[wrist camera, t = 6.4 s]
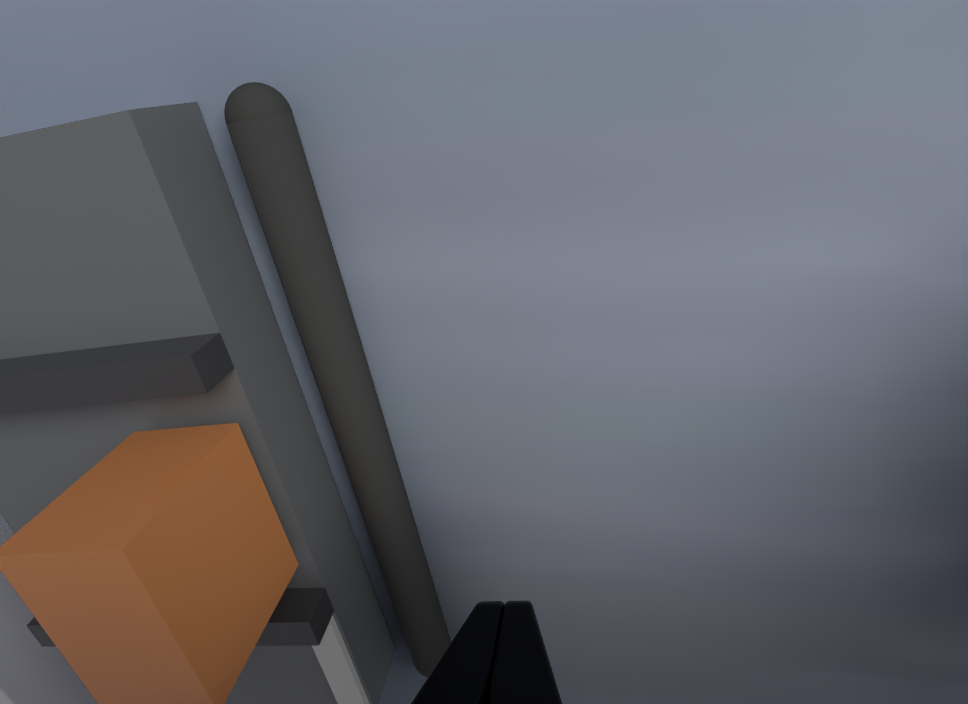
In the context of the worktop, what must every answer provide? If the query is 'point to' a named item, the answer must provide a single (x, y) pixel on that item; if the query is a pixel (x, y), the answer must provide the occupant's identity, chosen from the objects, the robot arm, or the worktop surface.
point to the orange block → (157, 567)
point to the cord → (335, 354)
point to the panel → (168, 367)
